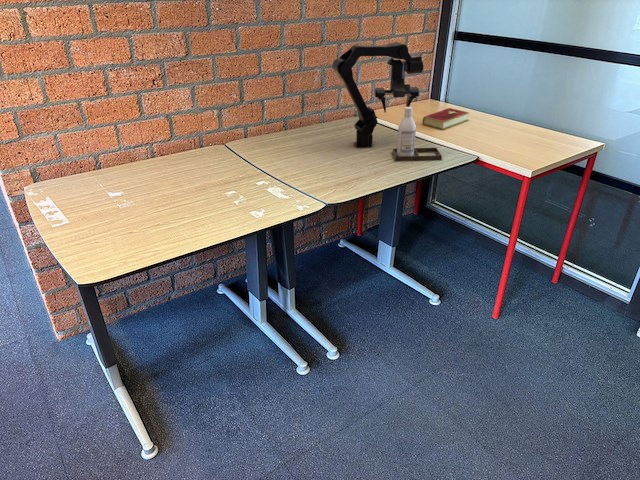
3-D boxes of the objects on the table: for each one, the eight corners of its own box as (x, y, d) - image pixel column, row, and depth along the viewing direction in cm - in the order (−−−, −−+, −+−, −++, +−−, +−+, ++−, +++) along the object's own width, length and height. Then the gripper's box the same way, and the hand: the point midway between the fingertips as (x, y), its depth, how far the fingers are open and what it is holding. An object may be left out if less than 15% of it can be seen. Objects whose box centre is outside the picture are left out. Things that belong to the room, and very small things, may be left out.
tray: (395, 161, 197) (396, 156, 196) (392, 152, 205) (392, 148, 204) (441, 159, 197) (441, 155, 196) (436, 151, 205) (436, 147, 205)
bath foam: (416, 156, 200) (421, 108, 190) (403, 160, 197) (406, 111, 187) (407, 151, 205) (410, 104, 195) (393, 154, 203) (396, 106, 192)
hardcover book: (422, 124, 237) (423, 115, 235) (448, 115, 249) (448, 107, 247) (442, 130, 229) (443, 121, 227) (468, 120, 241) (469, 111, 239)
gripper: (377, 80, 196) (376, 118, 204) (423, 79, 196) (420, 117, 204) (374, 74, 206) (373, 110, 214) (418, 73, 206) (415, 109, 214)
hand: (395, 112), depth 211 cm, fingers open, 9 cm apart
